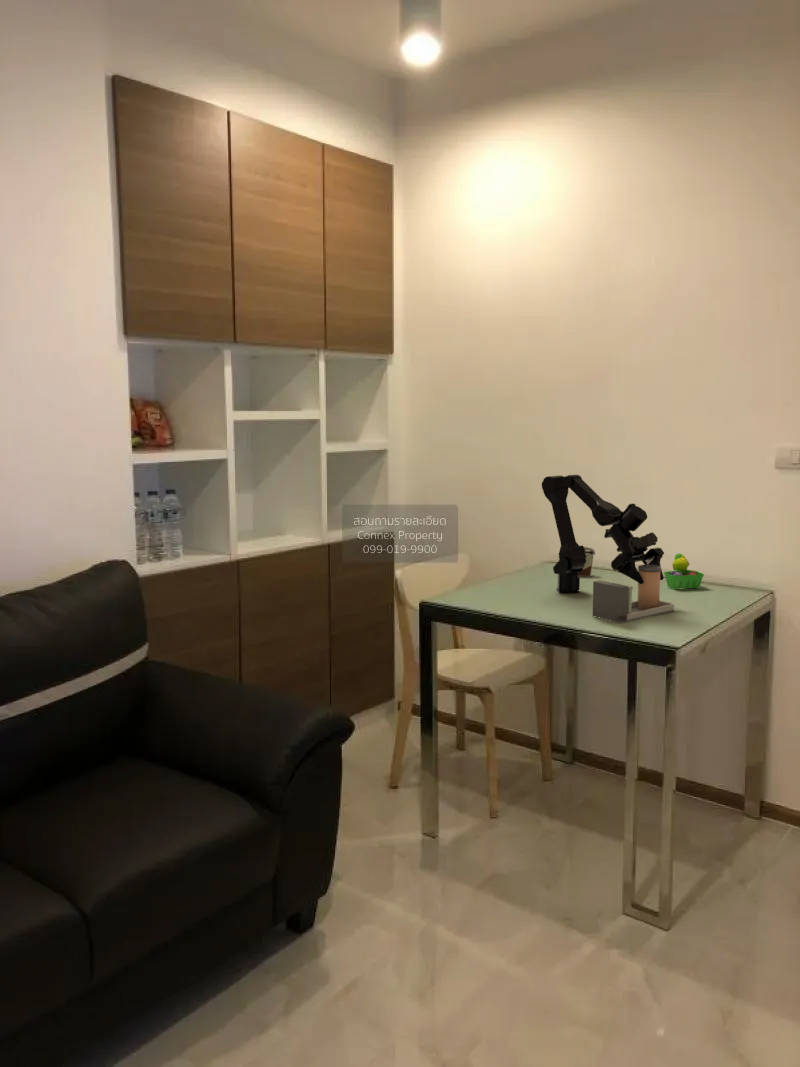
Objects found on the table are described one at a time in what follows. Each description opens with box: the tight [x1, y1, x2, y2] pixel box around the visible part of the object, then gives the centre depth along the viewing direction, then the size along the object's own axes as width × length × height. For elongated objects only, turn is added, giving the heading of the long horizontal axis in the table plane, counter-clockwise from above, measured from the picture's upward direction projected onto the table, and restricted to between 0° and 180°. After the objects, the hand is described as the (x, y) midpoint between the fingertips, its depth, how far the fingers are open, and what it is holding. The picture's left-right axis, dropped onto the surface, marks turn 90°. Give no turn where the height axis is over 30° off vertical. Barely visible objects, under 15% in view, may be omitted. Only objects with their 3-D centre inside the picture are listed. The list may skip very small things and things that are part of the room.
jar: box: [636, 564, 662, 610], centre depth 263 cm, size 7×7×13 cm
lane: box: [591, 579, 675, 624], centre depth 259 cm, size 24×10×10 cm, turn 125°
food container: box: [578, 546, 596, 577], centre depth 318 cm, size 12×6×10 cm, turn 84°
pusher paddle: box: [611, 582, 634, 614], centre depth 256 cm, size 1×8×9 cm, turn 35°
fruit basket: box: [663, 552, 705, 590], centre depth 295 cm, size 11×9×11 cm
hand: (652, 581), depth 261 cm, fingers open, 9 cm apart
